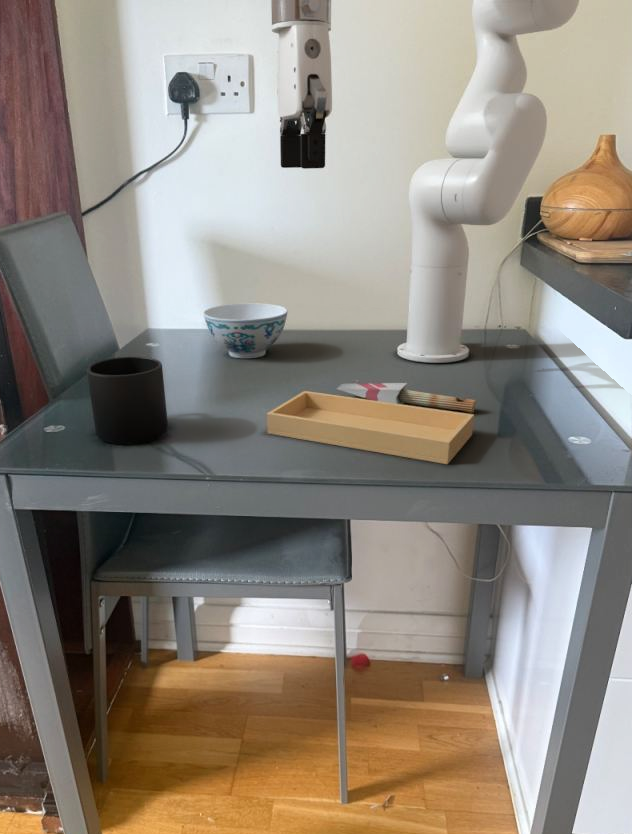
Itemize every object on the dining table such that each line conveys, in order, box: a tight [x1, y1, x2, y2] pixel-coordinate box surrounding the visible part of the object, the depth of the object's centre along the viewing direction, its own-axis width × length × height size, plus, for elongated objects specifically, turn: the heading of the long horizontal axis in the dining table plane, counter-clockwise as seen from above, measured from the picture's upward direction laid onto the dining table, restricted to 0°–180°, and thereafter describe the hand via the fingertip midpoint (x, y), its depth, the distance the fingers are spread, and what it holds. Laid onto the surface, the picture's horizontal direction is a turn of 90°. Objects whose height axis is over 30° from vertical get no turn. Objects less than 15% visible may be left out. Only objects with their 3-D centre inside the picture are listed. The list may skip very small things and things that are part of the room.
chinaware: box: [203, 302, 288, 359], centre depth 129 cm, size 15×15×8 cm
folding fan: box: [336, 382, 477, 414], centre depth 103 cm, size 4×3×20 cm
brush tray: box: [266, 390, 475, 465], centre depth 92 cm, size 11×24×3 cm, turn 62°
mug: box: [86, 356, 169, 445], centre depth 94 cm, size 9×12×9 cm
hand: (302, 167), depth 97 cm, fingers open, 9 cm apart
